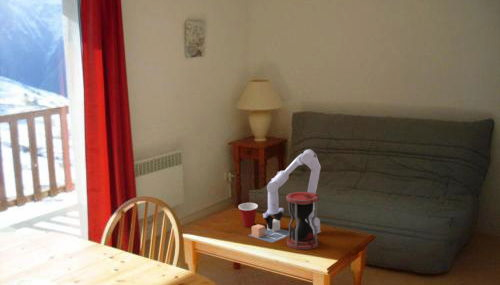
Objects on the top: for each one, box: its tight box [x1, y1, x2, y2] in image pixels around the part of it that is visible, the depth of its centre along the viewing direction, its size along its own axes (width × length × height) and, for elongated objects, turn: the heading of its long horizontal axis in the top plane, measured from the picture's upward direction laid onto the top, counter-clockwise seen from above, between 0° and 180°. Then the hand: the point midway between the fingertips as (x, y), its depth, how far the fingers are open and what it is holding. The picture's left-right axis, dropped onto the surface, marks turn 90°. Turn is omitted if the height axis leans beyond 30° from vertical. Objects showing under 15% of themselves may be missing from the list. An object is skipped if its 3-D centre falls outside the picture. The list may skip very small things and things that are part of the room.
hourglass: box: [285, 191, 320, 250], centre depth 279 cm, size 16×16×25 cm
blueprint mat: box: [247, 227, 292, 243], centre depth 295 cm, size 17×19×1 cm
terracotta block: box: [251, 224, 266, 239], centre depth 293 cm, size 5×5×5 cm
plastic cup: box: [238, 202, 259, 228], centre depth 309 cm, size 11×11×12 cm
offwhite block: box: [266, 219, 281, 232], centre depth 302 cm, size 5×5×5 cm
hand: (273, 227), depth 302 cm, fingers closed on offwhite block, 5 cm apart
